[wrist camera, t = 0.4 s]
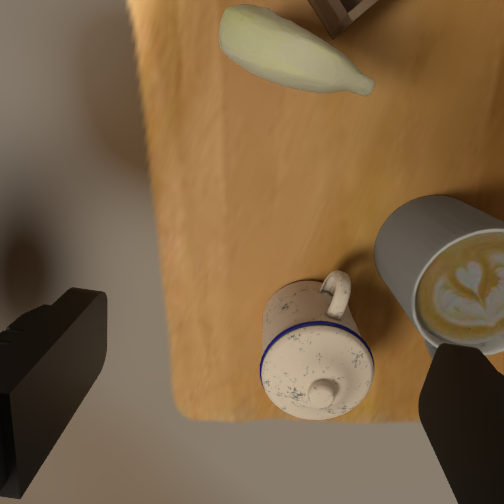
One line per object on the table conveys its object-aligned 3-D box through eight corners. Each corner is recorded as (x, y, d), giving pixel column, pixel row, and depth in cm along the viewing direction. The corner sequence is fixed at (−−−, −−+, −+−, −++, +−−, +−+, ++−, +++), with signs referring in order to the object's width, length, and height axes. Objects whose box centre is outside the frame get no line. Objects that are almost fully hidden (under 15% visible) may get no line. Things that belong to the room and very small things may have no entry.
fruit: (221, -16, 29) (201, 31, 30) (258, -8, 16) (221, 70, 18) (302, 38, 31) (280, 78, 33) (386, 80, 19) (345, 141, 21)
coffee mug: (390, 186, 35) (436, 217, 26) (500, 204, 35) (584, 240, 26) (353, 319, 40) (381, 385, 30) (451, 333, 40) (508, 403, 31)
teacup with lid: (331, 366, 42) (356, 459, 31) (248, 343, 41) (243, 429, 30) (378, 265, 38) (426, 331, 27) (287, 237, 37) (298, 293, 26)
